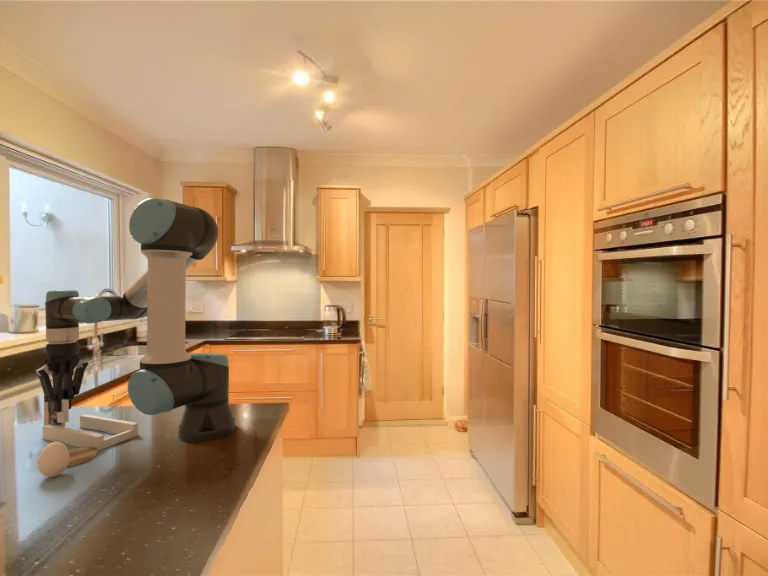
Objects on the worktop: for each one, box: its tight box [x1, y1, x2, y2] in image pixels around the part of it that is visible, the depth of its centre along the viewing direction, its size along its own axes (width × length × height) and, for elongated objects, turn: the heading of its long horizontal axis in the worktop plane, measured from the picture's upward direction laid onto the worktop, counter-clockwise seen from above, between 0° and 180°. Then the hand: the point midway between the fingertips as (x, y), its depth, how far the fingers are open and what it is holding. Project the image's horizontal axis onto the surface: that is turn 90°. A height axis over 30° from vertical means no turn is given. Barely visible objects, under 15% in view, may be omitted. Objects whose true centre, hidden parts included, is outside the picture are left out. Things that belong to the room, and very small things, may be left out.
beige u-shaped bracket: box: [42, 413, 139, 451], centre depth 107 cm, size 23×11×4 cm, turn 70°
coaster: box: [66, 447, 98, 468], centre depth 93 cm, size 10×10×1 cm
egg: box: [37, 441, 70, 478], centre depth 85 cm, size 5×5×8 cm
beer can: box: [43, 394, 66, 428], centre depth 113 cm, size 5×5×12 cm
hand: (62, 421), depth 112 cm, fingers closed
